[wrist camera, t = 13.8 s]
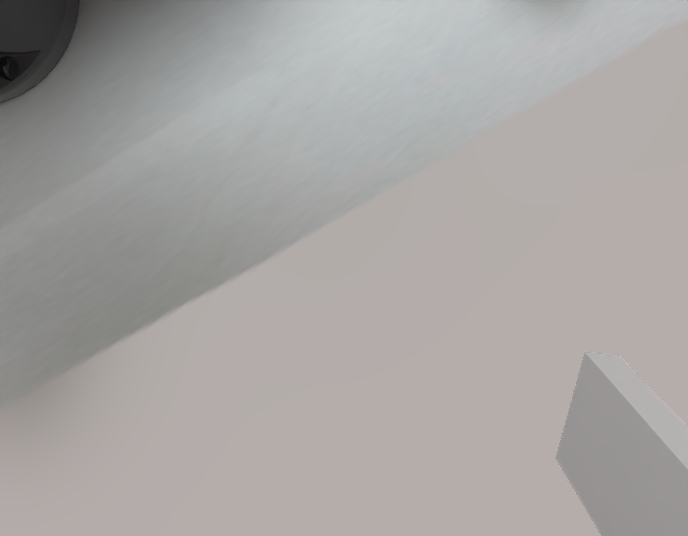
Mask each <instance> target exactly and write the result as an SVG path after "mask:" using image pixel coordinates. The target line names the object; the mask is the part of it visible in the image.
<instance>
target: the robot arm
mask: <svg viewBox="0 0 688 536" xmlns="http://www.w3.org/2000/svg"><path fill="white" fill-rule="evenodd" d="M78 6H79V0H0V102H3V101H6V100H9V99H11V98H14V97H16V96H18V95H20V94H22V93H24V92H26V91H27V90H29V89H30V88H32V87H34V86H35V85H36V84H37V83H39V82H40V81H41V80H42V79H43V78H44V77H45V76H46V75H47V74H48V73H49V72H50V71H51V70H52V69H53V68H54V66H55V65H56V64H57V63H58V61H59V60H60V58H61V56H62V55H63V53H64V51H65V49H66V48H67V46H68V43H69V41H70V39H71V36H72V33H73V30H74V27H75V23H76V19H77V14H78ZM556 460H557V461H558V463H559V465H560V466H561V468H562V470H563V471H564V473H565V475H566V477H567V478H568V480H569V482H570V483H571V485H572V487H573V488H574V490H575V492H576V494H577V495H578V497H579V499H580V500H581V502H582V504H583V505H584V507H585V509H586V510H587V512H588V514H589V516H590V517H591V519H592V521H593V522H594V524H595V526H596V527H597V529H598V531H599V533H600V534H601V536H688V426H687V425H686V424H685V423H684V422H683V420H682V419H681V418H680V417H679V416H678V415H677V414H676V413H675V412H674V411H673V410H672V409H671V408H670V407H669V406H668V405H667V404H666V403H665V402H664V401H663V400H662V399H661V398H660V397H659V396H658V395H657V394H656V393H655V392H654V391H653V390H652V389H651V388H650V387H649V386H648V385H647V384H646V382H644V380H643V379H642V378H641V377H640V376H639V375H638V374H637V373H636V372H635V371H634V370H633V369H632V368H631V367H630V366H629V365H628V364H627V363H626V362H625V361H624V360H623V359H622V358H621V357H620V356H619V355H615V354H602V353H589V352H585V354H584V357H583V361H582V365H581V368H580V372H579V375H578V379H577V383H576V386H575V390H574V393H573V397H572V401H571V404H570V408H569V412H568V415H567V419H566V422H565V426H564V430H563V433H562V437H561V441H560V444H559V447H558V451H557V455H556Z"/></svg>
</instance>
